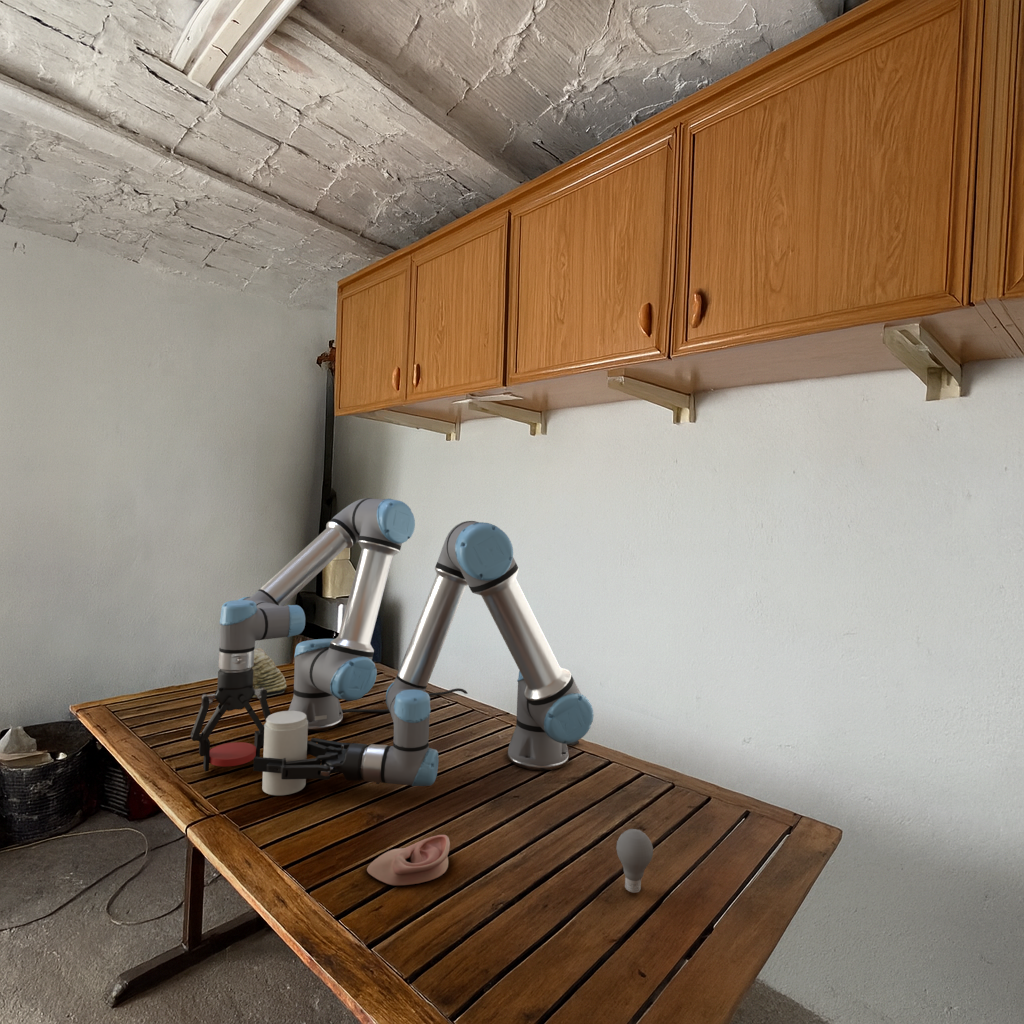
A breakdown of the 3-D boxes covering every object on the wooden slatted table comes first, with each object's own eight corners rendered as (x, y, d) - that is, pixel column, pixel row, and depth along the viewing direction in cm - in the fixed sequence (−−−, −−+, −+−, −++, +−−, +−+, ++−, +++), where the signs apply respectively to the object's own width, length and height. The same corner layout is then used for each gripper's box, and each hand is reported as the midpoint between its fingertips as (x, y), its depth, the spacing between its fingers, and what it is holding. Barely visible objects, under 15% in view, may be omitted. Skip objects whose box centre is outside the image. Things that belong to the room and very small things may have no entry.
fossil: (218, 695, 195) (220, 647, 195) (278, 685, 208) (279, 640, 207) (228, 703, 189) (230, 653, 188) (289, 692, 201) (290, 645, 201)
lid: (230, 770, 139) (230, 762, 139) (197, 760, 143) (197, 753, 143) (265, 754, 148) (265, 747, 148) (233, 745, 152) (233, 739, 152)
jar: (278, 774, 143) (281, 707, 143) (313, 780, 141) (316, 713, 141) (253, 791, 135) (255, 720, 135) (289, 798, 133) (292, 726, 132)
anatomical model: (359, 856, 105) (387, 822, 116) (358, 879, 105) (386, 843, 116) (435, 869, 102) (456, 833, 114) (434, 893, 103) (455, 855, 114)
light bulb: (610, 879, 108) (613, 822, 108) (644, 879, 109) (647, 822, 109) (619, 902, 102) (622, 840, 102) (655, 901, 103) (658, 840, 103)
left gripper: (182, 678, 136) (178, 780, 136) (291, 667, 149) (286, 761, 149) (178, 669, 142) (174, 767, 143) (282, 660, 155) (278, 750, 155)
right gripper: (348, 803, 126) (239, 794, 127) (379, 759, 147) (286, 752, 149) (349, 766, 126) (240, 757, 127) (380, 727, 147) (287, 720, 149)
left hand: (231, 764), depth 146 cm, fingers closed on lid, 10 cm apart
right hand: (265, 754), depth 138 cm, fingers closed on jar, 9 cm apart
